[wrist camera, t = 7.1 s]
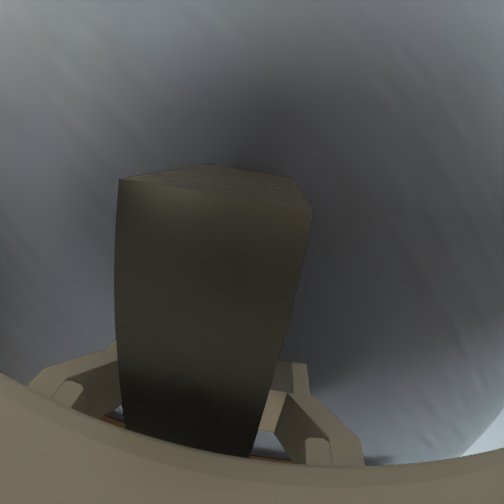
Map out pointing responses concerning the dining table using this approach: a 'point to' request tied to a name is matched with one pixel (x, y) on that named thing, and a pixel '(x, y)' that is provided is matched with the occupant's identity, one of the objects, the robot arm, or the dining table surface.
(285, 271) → the panel
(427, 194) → the dining table surface
